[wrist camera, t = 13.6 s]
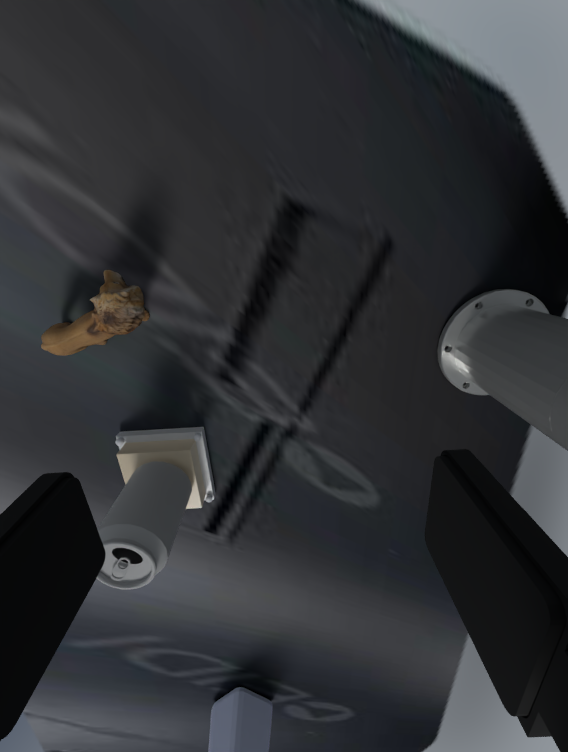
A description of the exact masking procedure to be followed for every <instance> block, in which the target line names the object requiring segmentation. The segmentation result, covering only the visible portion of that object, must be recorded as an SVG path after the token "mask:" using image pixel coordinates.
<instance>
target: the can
mask: <svg viewBox="0 0 568 752" xmlns="http://www.w3.org/2000/svg"><path fill="white" fill-rule="evenodd" d="M191 492H192V486H191V482H190V480H189V478H188V476H187V475H186V474H185V473H184V472H183V471H182V470H181V469H180V468H178V467H177V466H175V465H173V464H170V463H166V462H157V461H153V462H149V463H145V464H143V465H141V466H140V467H138V468H137V469H136V470H135V472H134V473H133V474H132V476H131V477H130V479H129V480H128V482H127V484H126V485H125V487H124V488H123V490H122V491H121V493H120V494H119V496H118V498H117V499H116V501H115V502H114V504H113V505H112V507H111V508H110V510H109V512H108V513H107V515H106V516H105V518H104V519H103V521H102V523H101V524H100V526H99V527H98V529H97V530H98V532H99V535H100V538H101V541H102V543H103V546H104V549H105V553H106V556H105V562H104V565H103V567H102V569H101V570H100V572H99V574H98V576H97V579H98V580H99V581H100V582H102V583H104V584H106V585H108V586H110V587H113V588H118V589H136V588H140V587H143V586H145V585H146V584H148V583H150V581H151V580H152V579H153V578H154V576H155V574H157V573H159V572H160V571H161V570H162V569H163V568H164V567H165V565H166V562H167V560H168V557H169V554H170V551H171V548H172V546H173V543H174V540H175V537H176V534H177V532H178V529H179V526H180V523H181V520H182V518H183V515H184V512H185V509H186V506H187V504H188V501H189V498H190V495H191Z"/></svg>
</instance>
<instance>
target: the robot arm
mask: <svg viewBox="0 0 568 752" xmlns="http://www.w3.org/2000/svg"><path fill="white" fill-rule="evenodd" d="M475 305H476V306H475ZM446 346H447V347H446ZM445 347H446V348H445ZM438 361H439V365H440V368H441V370H442V372H443V374H444V376H445V377H446V378H447V379H448V380H449V382H451V383H452V384H453V385H454V386H455V387H457V388H458V389H460V390H462V391H464V392H467V393H470V394H475V395H491V396H492V397H494V398H495V399H496V400H498V401H499V402H501V403H502V404H503V405H505V406H506V407H507V408H509V409H510V410H512V411H513V412H514V413H516V414H517V415H519V416H520V417H521V418H523V419H524V420H525V421H527V422H528V423H530V424H531V425H532V426H534V427H535V428H537V429H538V430H539V431H541V432H542V433H543V434H545V435H546V436H548V437H549V438H551V439H552V440H553V441H555V442H556V443H558V444H559V445H560V446H562V447H563V448H565V449H566V450H567V451H568V319H566V318H562V317H558V316H554V315H550V314H549V311H548V310H547V308H546V307H545V305H544V304H543V303H542V302H541V301H540V300H539V299H538V298H536V297H535V296H533V295H531V294H529V293H527V292H523V291H519V290H512V289H496V290H492V291H488V292H485V293H482V294H480V295H478V296H476V297H474V298H472V299H471V300H469V301H468V302H466V303H464V304H463V305H462V306H461V307H460V308H459V309H458V310H457V311H456V312H455V313H454V314H453V315H452V316H451V318H450V319H449V320H448V322H447V324H446V325H445V327H444V329H443V331H442V334H441V336H440V339H439V344H438ZM425 541H426V545H427V548H428V550H429V552H430V554H431V556H432V558H433V560H434V563H435V565H436V567H437V569H438V571H439V573H440V575H441V577H442V579H443V581H444V583H445V585H446V587H447V589H448V592H449V594H450V596H451V598H452V600H453V602H454V604H455V606H456V608H457V610H458V612H459V614H460V616H461V618H462V621H463V623H464V625H465V627H466V629H467V631H468V633H469V635H470V637H471V639H472V641H473V643H474V645H475V647H476V650H477V652H478V654H479V656H480V658H481V660H482V662H483V664H484V666H485V668H486V670H487V672H488V674H489V677H490V679H491V681H492V683H493V685H494V687H495V689H496V691H497V693H498V695H499V697H500V699H501V701H502V703H503V705H504V707H505V708H506V710H507V711H508V713H509V714H510V715H511V716H517V717H518V719H519V721H520V723H521V725H522V727H523V729H524V731H525V733H526V735H527V737H544V736H545V737H547V736H552V737H553V739H554V741H555V743H556V745H557V746H558V748H559V750H560V752H568V557H567V556H566V555H565V554H564V553H563V552H562V551H561V549H559V547H558V546H557V545H556V544H555V543H554V542H553V541H552V540H551V539H550V538H549V536H548V535H547V534H546V533H545V532H544V531H543V530H542V529H541V528H540V527H539V525H538V524H537V523H536V522H535V521H534V520H533V519H532V518H531V517H530V516H529V515H528V513H527V512H526V511H525V510H524V509H523V508H522V507H521V506H520V505H519V504H518V503H517V502H516V501H515V500H514V498H513V497H512V496H511V495H510V494H509V493H508V492H507V491H506V490H505V489H504V488H503V486H502V485H501V484H500V483H499V482H498V481H497V480H496V479H495V478H494V477H493V476H492V474H491V473H490V472H489V471H488V470H487V469H486V468H485V467H484V466H483V465H482V463H481V462H480V461H479V460H478V459H477V458H476V457H475V456H474V455H473V454H472V453H471V452H470V451H469V450H467V449H461V450H445V451H443V452H442V453H441V456H440V457H436V458H435V461H434V468H433V475H432V483H431V490H430V498H429V506H428V513H427V521H426V528H425ZM105 556H106V553H105V549H104V546H103V543H102V541H101V538H100V535H99V532H98V530H97V527H96V524H95V522H94V519H93V516H92V514H91V511H90V508H89V505H88V503H87V500H86V497H85V495H84V492H83V489H82V486H81V484H80V481H79V480H78V479H77V478H74V476H73V475H72V474H71V473H68V472H63V473H47V474H43V475H42V476H40V477H39V478H38V479H37V480H36V481H35V482H34V483H33V484H32V485H31V486H30V487H29V488H28V489H27V490H25V491H24V492H23V493H22V494H21V495H20V496H19V497H18V498H17V499H16V500H15V501H14V502H13V503H12V504H11V505H10V506H9V507H8V508H7V509H6V510H5V511H4V512H3V513H2V514H1V515H0V741H1V739H3V738H4V737H6V736H7V735H8V734H9V733H10V732H11V730H12V729H13V727H14V726H15V724H16V723H17V721H18V719H19V717H20V715H21V714H22V712H23V710H24V708H25V706H26V704H27V703H28V701H29V699H30V697H31V695H32V694H33V692H34V690H35V688H36V686H37V685H38V683H39V681H40V679H41V677H42V676H43V674H44V672H45V670H46V668H47V666H48V665H49V663H50V661H51V659H52V657H53V656H54V654H55V652H56V650H57V648H58V647H59V645H60V643H61V641H62V639H63V637H64V636H65V634H66V632H67V630H68V628H69V627H70V625H71V623H72V621H73V619H74V618H75V616H76V614H77V612H78V610H79V609H80V607H81V605H82V603H83V601H84V599H85V598H86V596H87V594H88V592H89V590H90V589H91V587H92V585H93V583H94V581H95V580H96V578H97V576H98V574H99V572H100V570H101V569H102V567H103V565H104V562H105Z"/></svg>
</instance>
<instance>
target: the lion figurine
mask: <svg viewBox="0 0 568 752" xmlns="http://www.w3.org/2000/svg"><path fill="white" fill-rule="evenodd" d="M104 279H105V284H103V285H102V286H101V287H100V293H99V294H98V295H97V296H95V297H93V298H91V299H90V300H91V301H92V302H93V303H94V306H95V307H94V310H93V311H90V312H88V313H86V314H84V315H83V316H81V317H80V318H78V319H77V320H76V321H74V322H73V323H72V324H70V323H67V322H64V323H58V324H55V325H53V326H51V327H50V328H49V329H48V330H46V331H45V332H44V334H43V335H42V337H41V338H42V341H43V343H42V344H41V347H42V348H43V349H44V350H48V351H49V352H51V353H53V354H55V355H71V354H74V353H77V352H79V351H81V350H84V349H85V348H87V347H88V346H90V345H94V344H100V345H104V344H106V343H107V339H109V338H111V337H112V336H114V335H116V334H117V335H120V334H128V333H130V332H131V331H133V330H134V329H135V328H136V327H138V326H139V325H140V324H141V323H142V321H147V320H148V319H149V317H150V316H149V313H148V312H147V311H146V310H145V308H144V307H143V305H144V298H143V293H142V292H141V289H140V287H138V286H134V285H131V286H127V285H126V284H125V281H124V279H123V277H122V276H120V274H119V273H117V272H113V271H111V270H105V271H104Z"/></svg>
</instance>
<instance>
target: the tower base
mask: <svg viewBox="0 0 568 752" xmlns="http://www.w3.org/2000/svg"><path fill="white" fill-rule="evenodd" d="M116 439H117V440H116V442H115V443H116V444H117V445H118V446H119V449H120V451H119V452H118V453H117V458H118V461H119V464H120V468H121V471H122V474H123V477H124V481H125V484H127V482H128V480H129V479H130V477H131V476H132V474H133V473H134V472H135V470H136V469H137V468H138V467H140V466H141V465H143V464H145V463H149V462H153V461H157V462H166V463H170V464H173V465H175V466H177V467H178V468H180V469H181V470H182V471H183V472H184V473H185V474H186V475H187V476H188V478H189V480H190V482H191V486H192V492H191V495H190V498H189V501H188V504H187V506H186V509H188V508H202V505H203V502H204V500H206V502H211V501H212V500H214V498H215V494H216V492H215V487H214V481H213V476H212V470H211V464H210V459H209V453H208V448H207V442H206V436H205V431H204V427H190V428H173V429H156V430H140V431H123V432H119V434H118V435H117V436H116Z"/></svg>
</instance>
